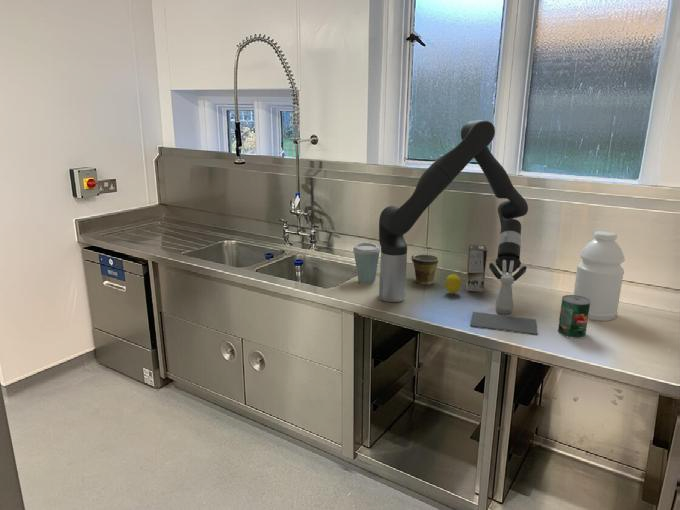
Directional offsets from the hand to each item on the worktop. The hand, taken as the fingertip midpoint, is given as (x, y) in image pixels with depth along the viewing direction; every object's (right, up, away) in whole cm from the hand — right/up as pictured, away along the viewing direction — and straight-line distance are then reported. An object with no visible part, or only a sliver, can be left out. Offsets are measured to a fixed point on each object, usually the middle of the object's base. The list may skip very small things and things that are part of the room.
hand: (505, 290), depth 177 cm
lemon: (-15, -3, +17) cm, 22 cm away
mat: (-4, -10, -10) cm, 15 cm away
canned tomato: (+15, -12, -16) cm, 25 cm away
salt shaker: (-1, -8, -1) cm, 8 cm away
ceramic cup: (-24, +1, +31) cm, 39 cm away
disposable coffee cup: (-46, +1, +29) cm, 55 cm away
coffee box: (-4, -1, +24) cm, 25 cm away
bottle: (+29, -8, -1) cm, 31 cm away
